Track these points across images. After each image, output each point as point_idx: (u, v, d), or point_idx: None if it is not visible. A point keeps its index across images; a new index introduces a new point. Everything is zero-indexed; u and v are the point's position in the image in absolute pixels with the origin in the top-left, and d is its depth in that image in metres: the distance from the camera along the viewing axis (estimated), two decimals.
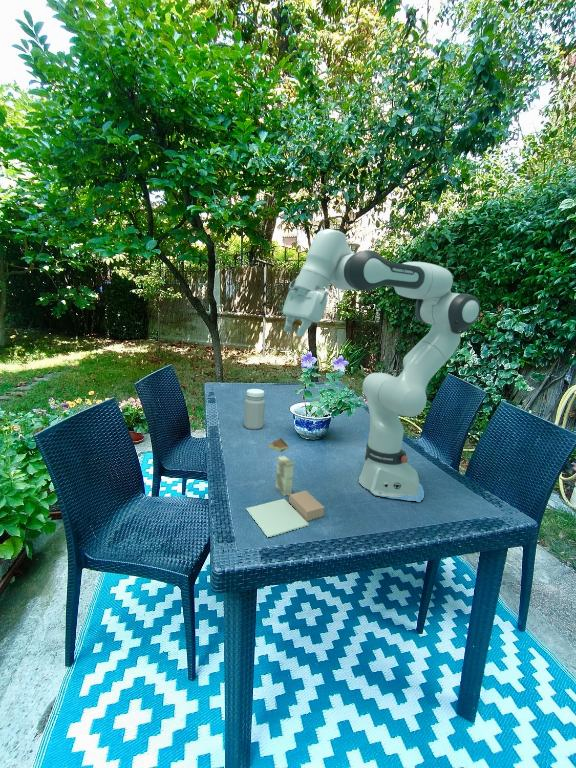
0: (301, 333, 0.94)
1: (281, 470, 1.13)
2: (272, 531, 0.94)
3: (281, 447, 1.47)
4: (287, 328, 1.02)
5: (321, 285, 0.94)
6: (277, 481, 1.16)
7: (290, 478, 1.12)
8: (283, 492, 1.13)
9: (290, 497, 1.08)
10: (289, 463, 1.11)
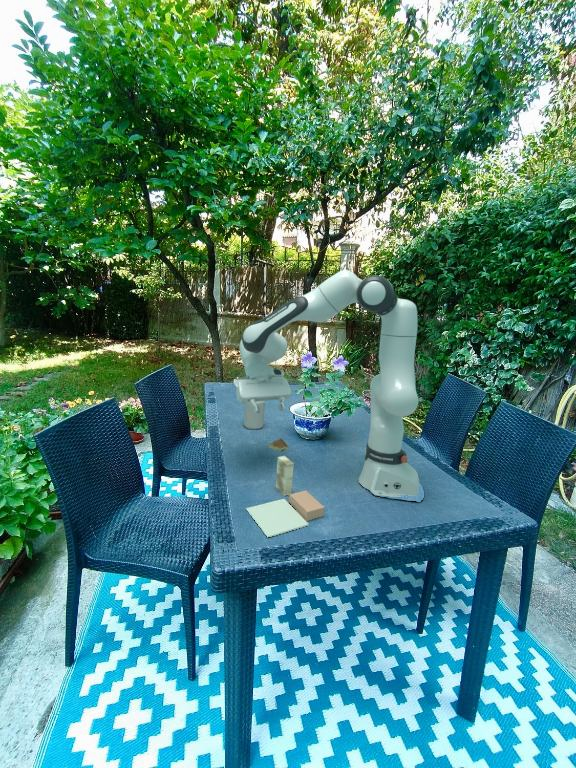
0: (255, 410, 1.18)
1: (281, 470, 1.13)
2: (272, 531, 0.94)
3: (281, 447, 1.47)
4: None
5: (248, 374, 1.24)
6: (277, 481, 1.16)
7: (290, 478, 1.12)
8: (283, 492, 1.13)
9: (290, 497, 1.08)
10: (289, 463, 1.11)
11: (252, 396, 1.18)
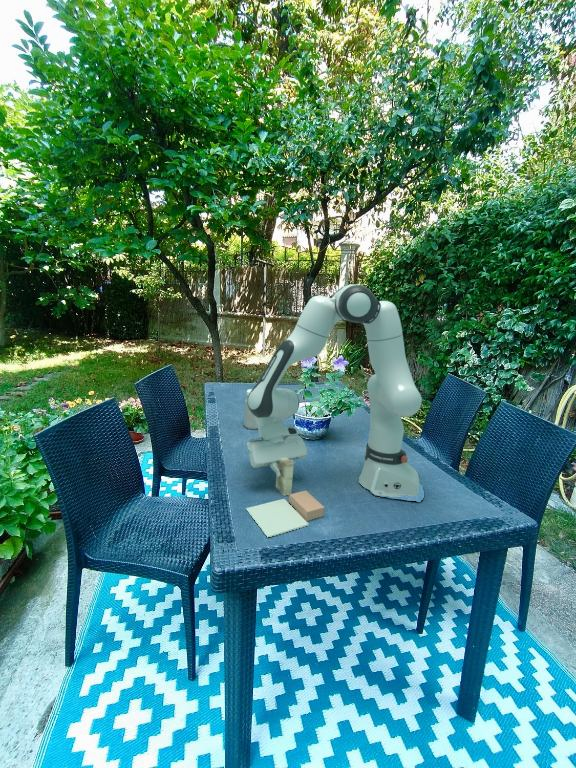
0: (277, 474, 1.13)
1: None
2: (272, 531, 0.94)
3: None
4: None
5: (262, 434, 1.17)
6: (277, 481, 1.16)
7: (290, 478, 1.12)
8: (283, 492, 1.13)
9: (290, 497, 1.08)
10: (289, 463, 1.11)
11: (267, 461, 1.12)
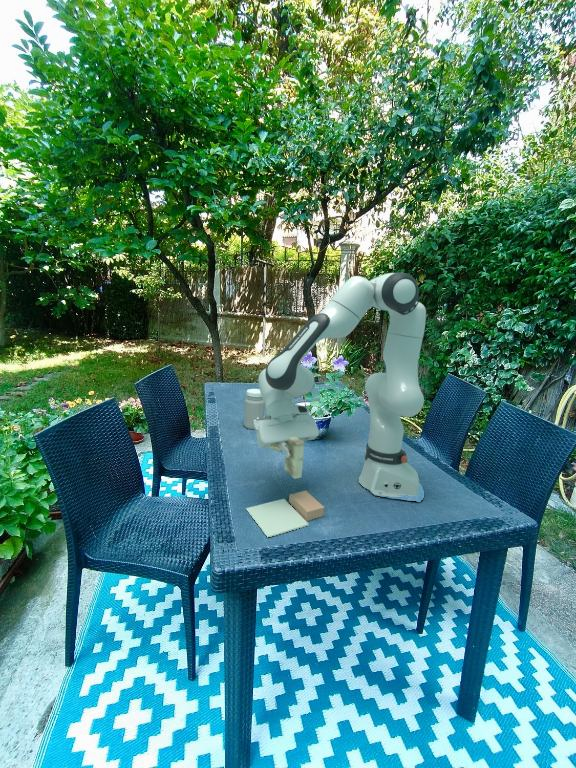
0: (286, 455, 1.04)
1: (291, 450, 1.04)
2: (272, 531, 0.94)
3: None
4: None
5: (269, 412, 1.08)
6: (286, 463, 1.07)
7: (300, 459, 1.03)
8: (293, 474, 1.04)
9: (290, 497, 1.08)
10: (299, 442, 1.02)
11: (275, 440, 1.03)
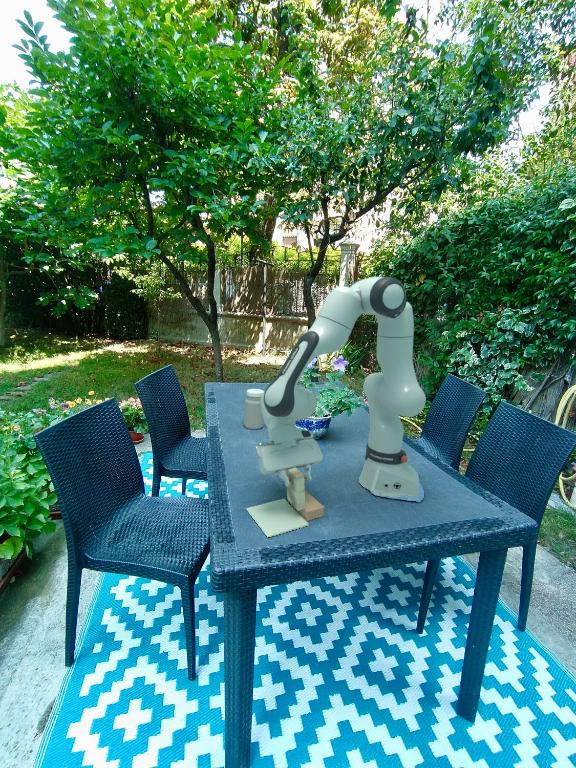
0: (286, 483, 1.00)
1: None
2: (272, 531, 0.94)
3: None
4: (304, 478, 1.04)
5: (272, 438, 1.05)
6: (288, 494, 1.04)
7: (302, 490, 1.00)
8: (296, 506, 1.01)
9: None
10: (299, 475, 0.98)
11: (278, 468, 1.00)
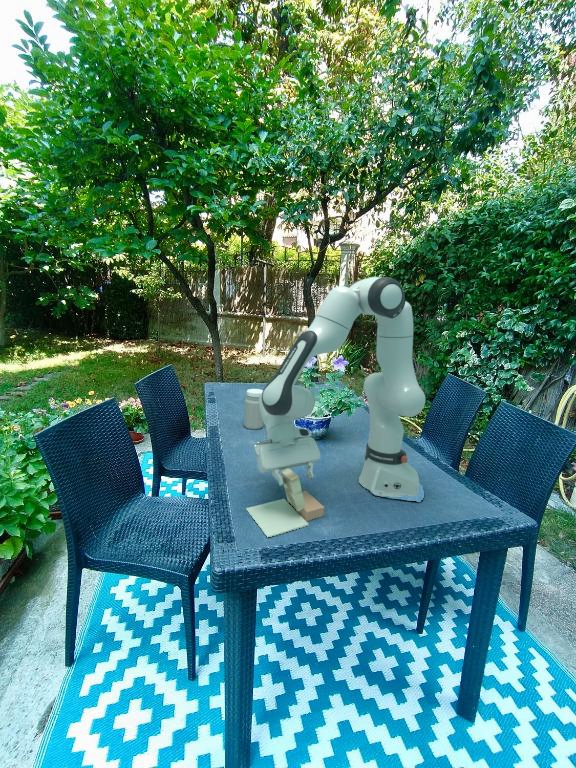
0: (280, 482, 1.00)
1: (287, 485, 1.01)
2: (272, 531, 0.94)
3: None
4: (306, 476, 1.05)
5: (270, 436, 1.06)
6: (287, 495, 1.04)
7: (299, 492, 0.99)
8: (296, 507, 1.01)
9: None
10: (294, 477, 0.98)
11: (276, 466, 1.00)
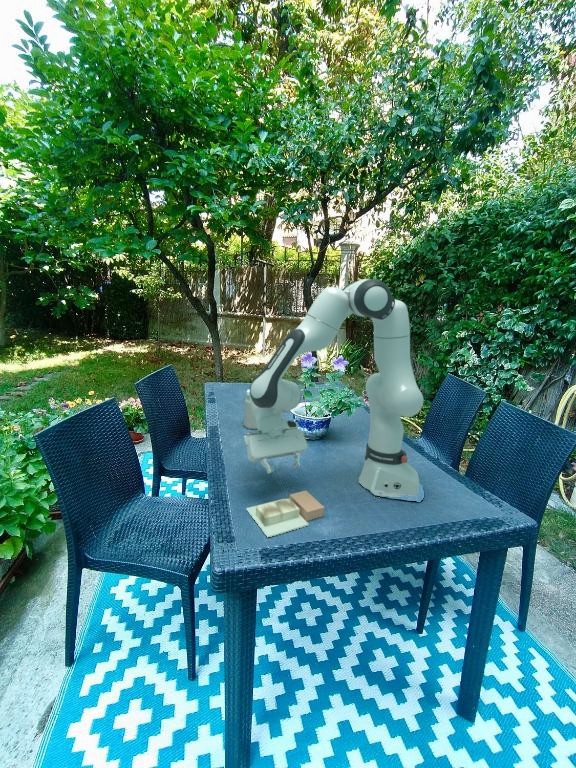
0: (268, 470, 1.06)
1: None
2: (272, 531, 0.94)
3: None
4: (294, 465, 1.11)
5: (260, 427, 1.12)
6: None
7: (281, 516, 0.98)
8: None
9: (290, 497, 1.08)
10: (264, 521, 0.96)
11: (265, 455, 1.06)
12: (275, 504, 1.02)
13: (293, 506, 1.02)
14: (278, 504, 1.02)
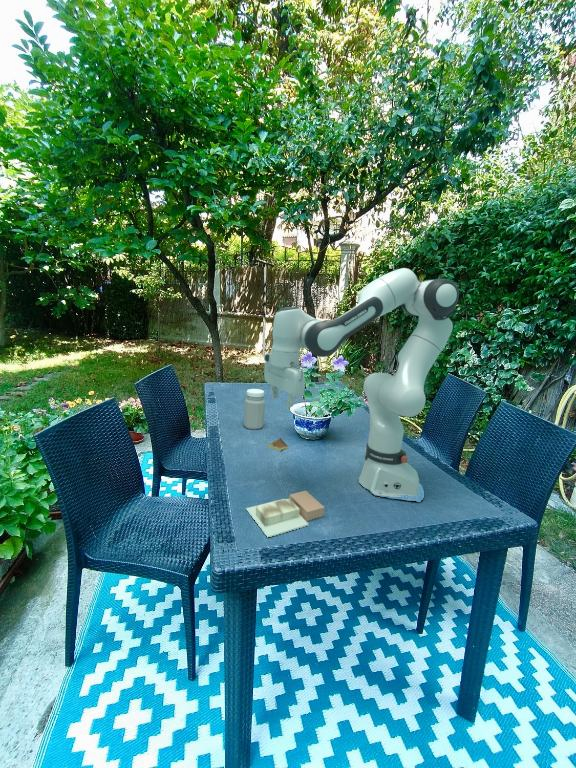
0: (290, 404, 1.08)
1: None
2: (272, 531, 0.94)
3: (281, 447, 1.46)
4: (274, 396, 1.16)
5: (294, 359, 1.06)
6: None
7: (281, 516, 0.98)
8: None
9: (290, 497, 1.08)
10: (264, 521, 0.96)
11: None
12: (275, 504, 1.02)
13: (293, 506, 1.02)
14: (278, 504, 1.02)
